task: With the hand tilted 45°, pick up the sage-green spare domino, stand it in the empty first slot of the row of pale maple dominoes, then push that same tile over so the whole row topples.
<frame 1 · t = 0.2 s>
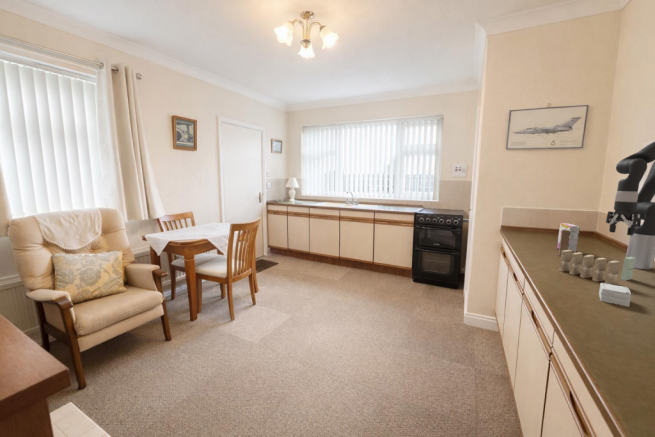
hand: (620, 233, 141), 18 cm above the worktop, tool pointing down, fingers open, 8 cm apart
domino 4: (585, 276, 132), on the worktop
domino 5: (597, 280, 128), on the worktop
candy bar box: (565, 251, 175), on the worktop
wooden block: (565, 256, 164), on the worktop
domino 6: (610, 284, 124), on the worktop
domino 2: (564, 270, 140), on the worktop
spare domino: (626, 279, 129), on the worktop
domino 3: (574, 273, 136), on the worktop
small box: (613, 301, 108), on the worktop
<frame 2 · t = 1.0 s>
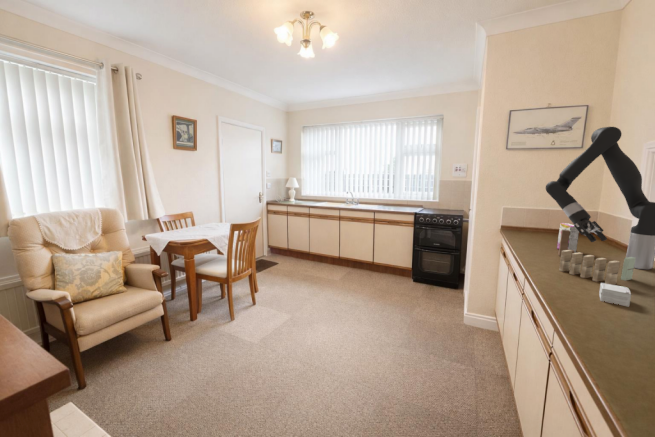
hand: (599, 240, 138), 15 cm above the worktop, tool tilted 45°, fingers open, 8 cm apart
nothing on the worktop moved.
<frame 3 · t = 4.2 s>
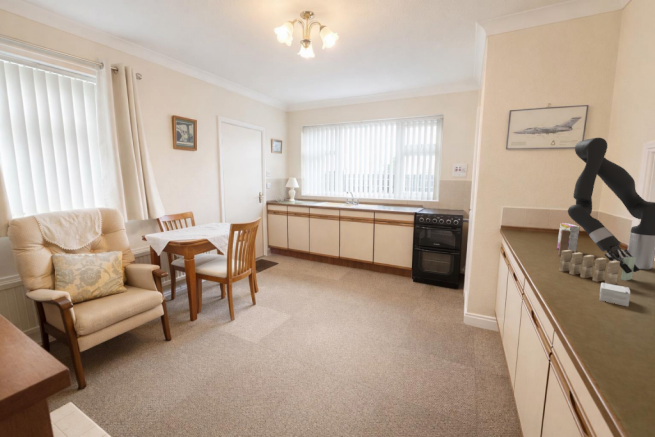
hand: (633, 271, 127), 4 cm above the worktop, tool tilted 45°, fingers closed on spare domino, 5 cm apart
spare domino: (626, 279, 129), on the worktop, touching gripper
everything else where it was.
when the fingers open (5 cm above the worktop, at t = 10.7 s): spare domino stays where it is, on the worktop.
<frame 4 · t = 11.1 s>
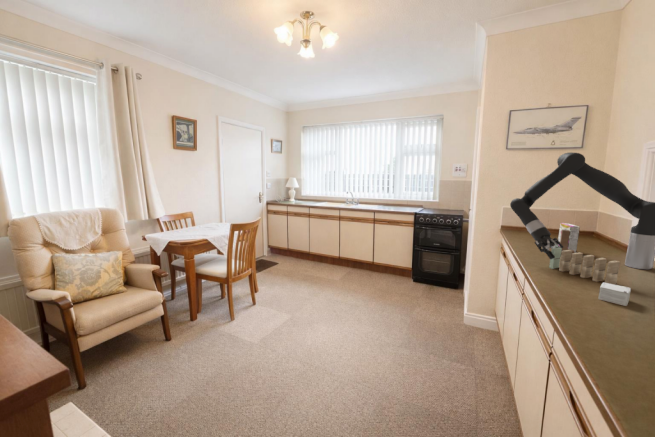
hand: (558, 257, 142), 6 cm above the worktop, tool tilted 45°, fingers open, 8 cm apart
spare domino: (554, 267, 145), on the worktop
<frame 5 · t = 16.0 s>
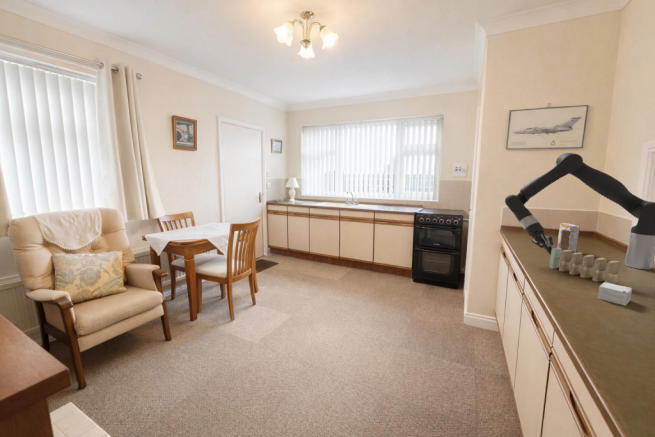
hand: (553, 254, 145), 7 cm above the worktop, tool tilted 45°, fingers closed
spare domino: (554, 267, 145), on the worktop, touching gripper
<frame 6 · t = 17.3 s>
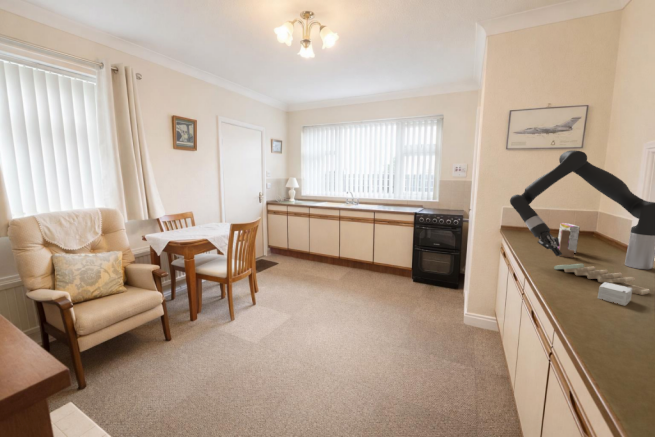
hand: (559, 255, 142), 7 cm above the worktop, tool tilted 45°, fingers closed
domino 4: (591, 276, 130), point 1 cm above the worktop, tilted 68°, touching domino 3, domino 5
domino 5: (602, 279, 126), point 1 cm above the worktop, tilted 69°, touching domino 4, domino 6
domino 6: (613, 283, 123), point 1 cm above the worktop, tilted 89°, touching domino 5
domino 2: (567, 270, 139), point 1 cm above the worktop, tilted 68°, touching domino 3, spare domino
spare domino: (557, 267, 143), point 1 cm above the worktop, tilted 68°, touching domino 2
domino 3: (578, 273, 135), point 1 cm above the worktop, tilted 68°, touching domino 2, domino 4
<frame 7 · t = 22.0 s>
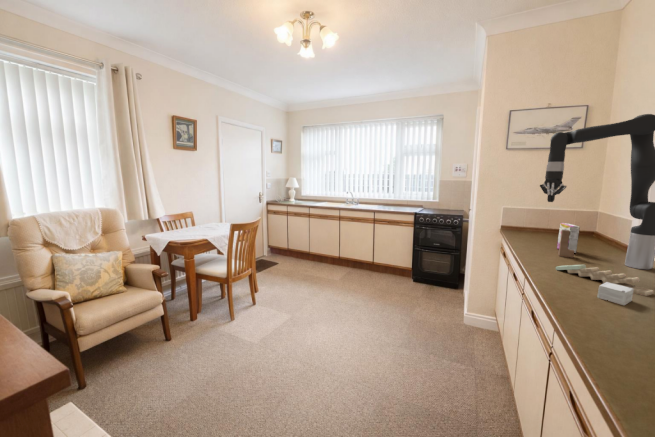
hand: (550, 201, 160), 31 cm above the worktop, tool pointing down, fingers closed
domino 4: (593, 277, 129), point 1 cm above the worktop, tilted 68°, touching domino 3, domino 5
domino 5: (605, 280, 125), point 1 cm above the worktop, tilted 69°, touching domino 4, domino 6
domino 6: (616, 284, 122), point 1 cm above the worktop, tilted 89°, touching domino 5
domino 2: (570, 271, 138), point 1 cm above the worktop, tilted 68°, touching spare domino
domino 3: (581, 274, 133), point 1 cm above the worktop, tilted 68°, touching domino 4
at the end: domino 6 tilted 89°; spare domino inside the target area (2.2 cm from its centre), point 0.7 cm above the worktop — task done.
